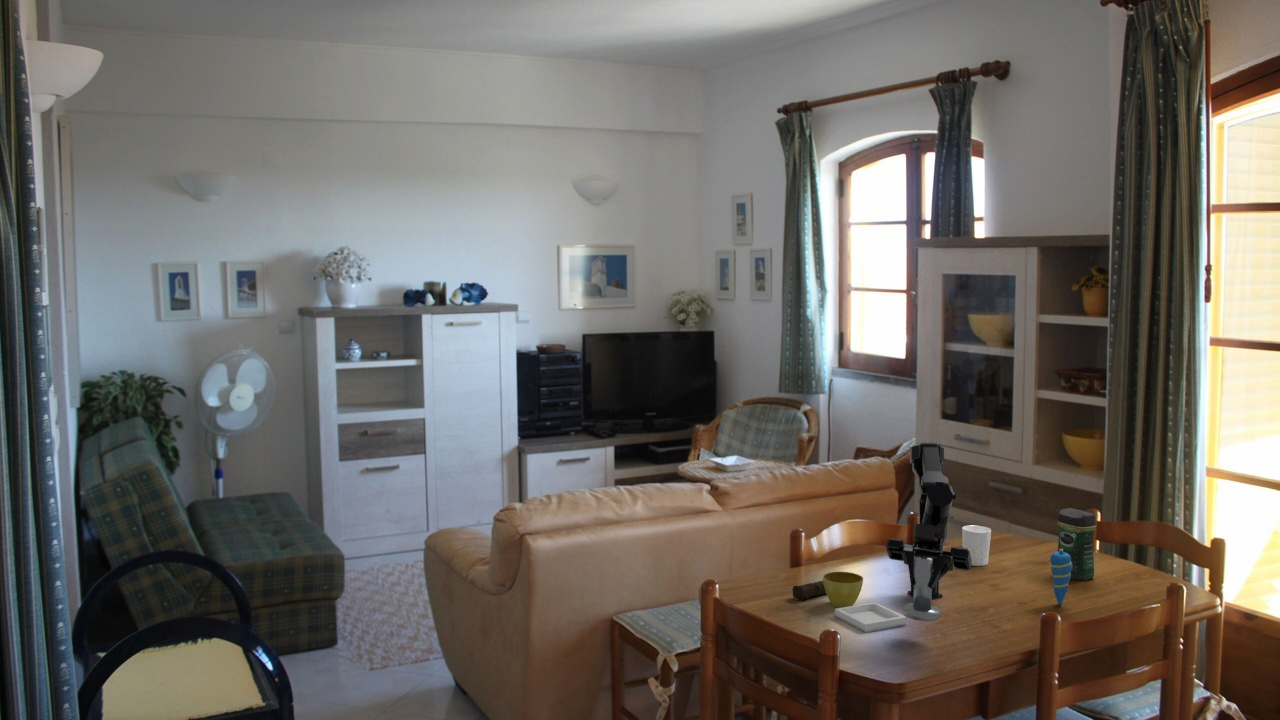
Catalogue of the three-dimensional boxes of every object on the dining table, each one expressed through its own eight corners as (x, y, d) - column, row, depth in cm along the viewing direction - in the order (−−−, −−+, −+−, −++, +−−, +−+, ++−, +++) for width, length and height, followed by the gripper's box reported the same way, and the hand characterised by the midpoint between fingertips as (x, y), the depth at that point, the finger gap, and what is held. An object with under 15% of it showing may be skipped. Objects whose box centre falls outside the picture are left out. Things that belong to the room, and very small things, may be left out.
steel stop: (923, 606, 242) (925, 550, 241) (947, 617, 235) (949, 559, 234) (896, 611, 239) (898, 554, 237) (920, 623, 232) (921, 564, 230)
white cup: (959, 558, 302) (960, 524, 301) (987, 559, 301) (988, 525, 300) (963, 566, 294) (964, 531, 293) (992, 567, 293) (993, 532, 292)
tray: (874, 609, 257) (874, 602, 257) (906, 625, 246) (906, 617, 246) (834, 616, 252) (834, 608, 252) (865, 632, 241) (865, 624, 241)
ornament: (1060, 609, 258) (1063, 550, 256) (1043, 603, 262) (1046, 545, 261) (1074, 606, 260) (1077, 548, 259) (1058, 600, 265) (1060, 543, 263)
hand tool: (801, 603, 263) (801, 585, 262) (791, 598, 266) (791, 581, 266) (857, 591, 272) (858, 574, 272) (847, 587, 276) (847, 570, 275)
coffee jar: (1099, 578, 283) (1102, 512, 281) (1079, 582, 279) (1082, 515, 278) (1069, 569, 292) (1072, 504, 290) (1050, 573, 288) (1052, 507, 286)
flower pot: (819, 598, 266) (819, 570, 265) (858, 598, 266) (859, 571, 265) (825, 611, 256) (825, 583, 255) (866, 611, 256) (866, 583, 255)
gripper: (888, 504, 242) (874, 562, 234) (970, 514, 233) (959, 575, 225) (896, 529, 250) (883, 586, 242) (976, 539, 241) (965, 599, 233)
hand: (921, 586), depth 235 cm, fingers closed on steel stop, 4 cm apart
